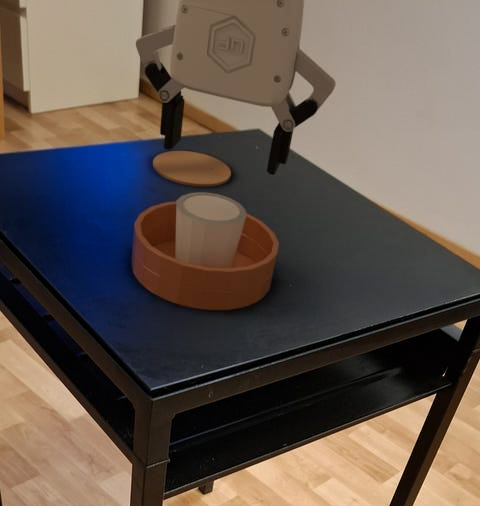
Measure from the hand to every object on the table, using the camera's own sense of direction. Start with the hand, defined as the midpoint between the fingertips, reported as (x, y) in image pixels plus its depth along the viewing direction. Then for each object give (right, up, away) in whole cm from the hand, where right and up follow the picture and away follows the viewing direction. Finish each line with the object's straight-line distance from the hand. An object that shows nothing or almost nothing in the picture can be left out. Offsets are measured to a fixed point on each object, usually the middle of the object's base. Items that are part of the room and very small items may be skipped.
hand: (222, 156), depth 68 cm
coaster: (-5, +8, +27) cm, 28 cm away
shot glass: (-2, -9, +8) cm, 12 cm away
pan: (-2, -9, +8) cm, 12 cm away
